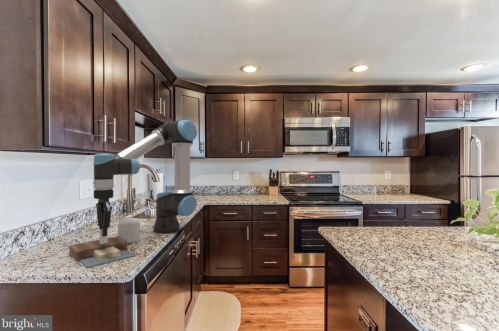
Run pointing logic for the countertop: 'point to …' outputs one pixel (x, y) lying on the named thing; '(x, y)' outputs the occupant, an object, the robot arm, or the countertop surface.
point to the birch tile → (106, 254)
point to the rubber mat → (94, 262)
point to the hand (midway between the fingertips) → (103, 243)
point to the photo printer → (129, 230)
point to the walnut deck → (95, 247)
